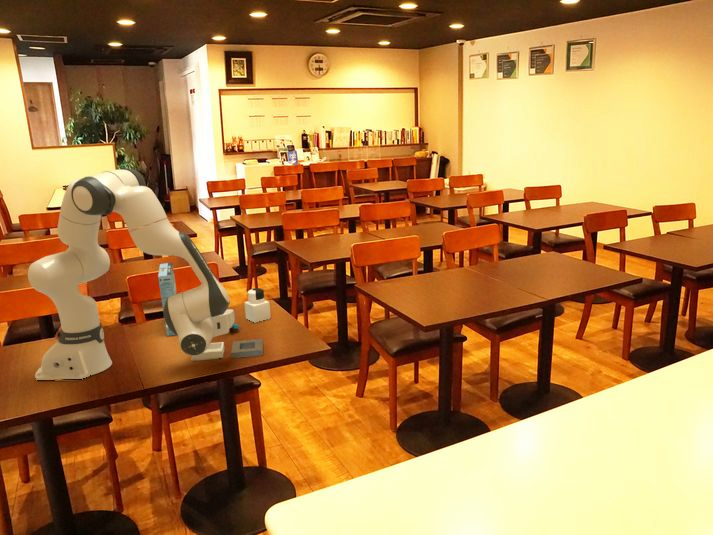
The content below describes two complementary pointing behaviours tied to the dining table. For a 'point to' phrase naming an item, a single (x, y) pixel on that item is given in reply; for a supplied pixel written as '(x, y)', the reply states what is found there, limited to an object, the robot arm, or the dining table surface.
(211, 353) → the tray
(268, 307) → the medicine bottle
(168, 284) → the gum box
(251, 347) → the grey peg base
